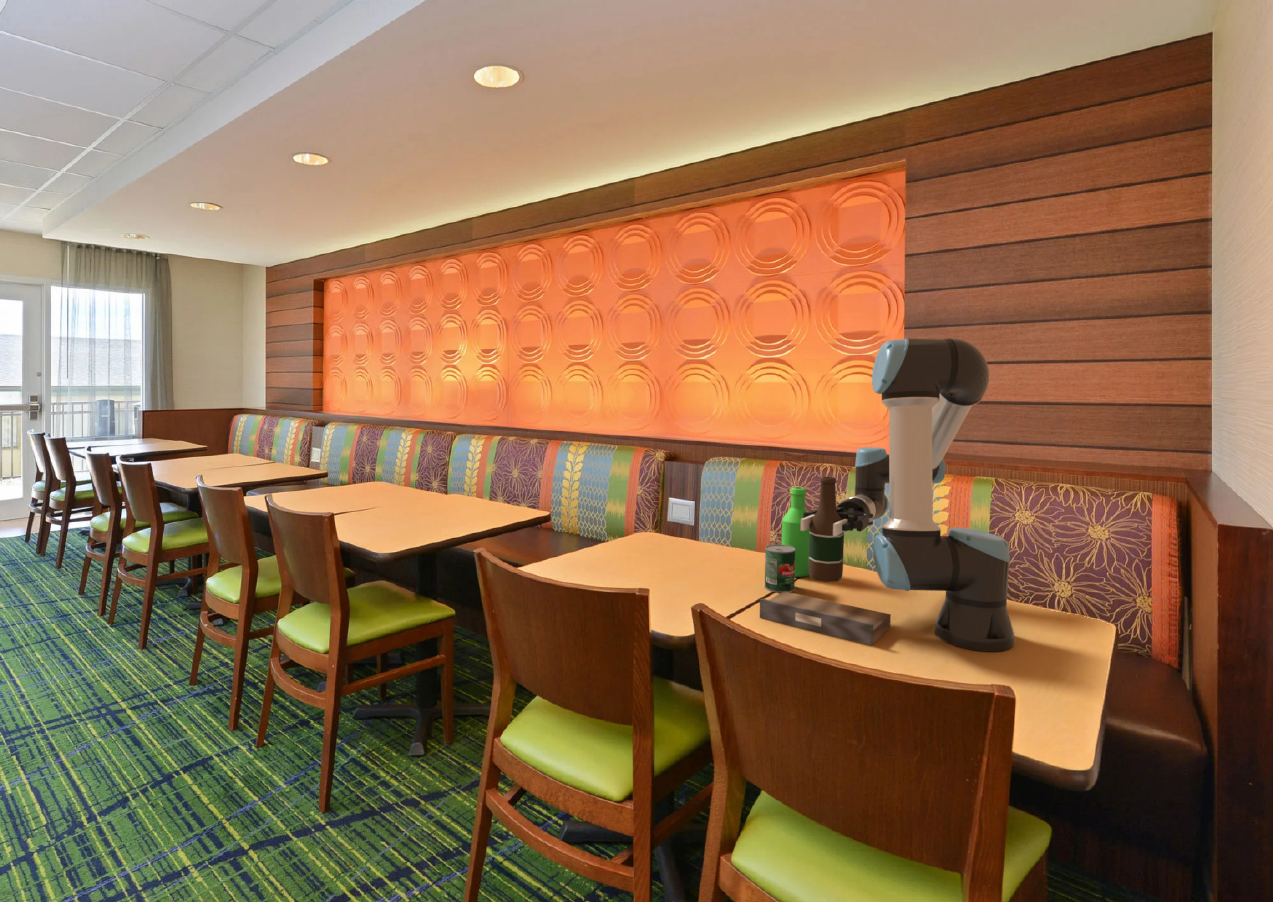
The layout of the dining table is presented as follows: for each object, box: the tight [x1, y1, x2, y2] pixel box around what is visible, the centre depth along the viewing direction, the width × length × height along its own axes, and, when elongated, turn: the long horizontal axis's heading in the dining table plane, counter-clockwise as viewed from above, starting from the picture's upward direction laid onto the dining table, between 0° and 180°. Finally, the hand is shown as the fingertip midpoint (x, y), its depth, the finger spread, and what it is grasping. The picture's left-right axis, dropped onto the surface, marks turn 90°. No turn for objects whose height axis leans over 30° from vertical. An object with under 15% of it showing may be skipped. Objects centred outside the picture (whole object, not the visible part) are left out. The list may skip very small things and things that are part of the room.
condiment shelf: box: [759, 591, 892, 646], centre depth 148 cm, size 26×13×4 cm, turn 52°
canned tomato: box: [764, 544, 796, 594], centre depth 172 cm, size 8×8×11 cm
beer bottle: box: [808, 476, 845, 583], centre depth 151 cm, size 8×8×24 cm
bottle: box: [781, 486, 810, 578], centre depth 184 cm, size 9×9×25 cm
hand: (818, 527), depth 147 cm, fingers closed on beer bottle, 7 cm apart
